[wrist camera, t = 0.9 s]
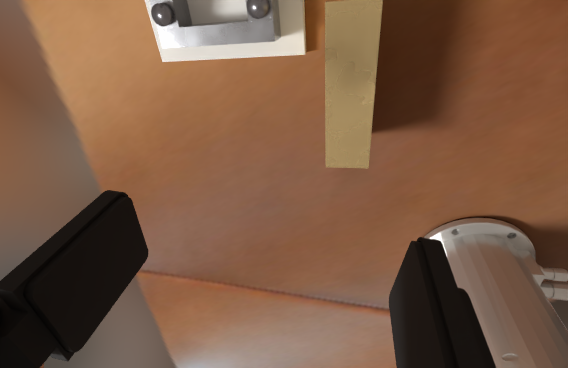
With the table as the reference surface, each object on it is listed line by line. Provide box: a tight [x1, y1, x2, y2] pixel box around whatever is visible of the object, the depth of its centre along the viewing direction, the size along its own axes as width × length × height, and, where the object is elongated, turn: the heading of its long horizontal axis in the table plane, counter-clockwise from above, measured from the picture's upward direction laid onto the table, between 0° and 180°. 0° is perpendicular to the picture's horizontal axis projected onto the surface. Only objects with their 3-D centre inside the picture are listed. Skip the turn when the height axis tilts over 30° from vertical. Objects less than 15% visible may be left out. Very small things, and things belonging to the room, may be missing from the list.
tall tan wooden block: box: [325, 0, 383, 168], centre depth 24 cm, size 4×12×7 cm, turn 5°
